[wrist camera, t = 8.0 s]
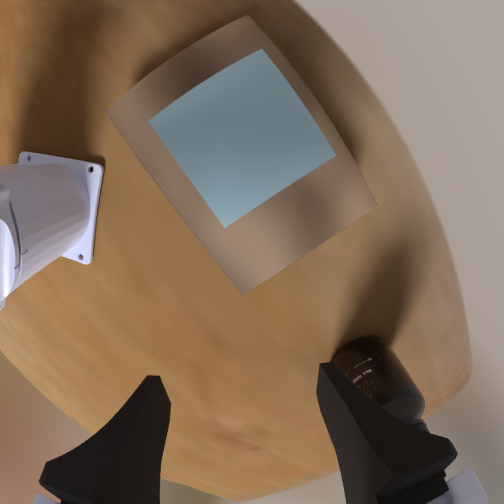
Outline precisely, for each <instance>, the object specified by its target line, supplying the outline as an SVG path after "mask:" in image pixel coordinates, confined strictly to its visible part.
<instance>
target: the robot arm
mask: <svg viewBox="0 0 504 504" xmlns="http://www.w3.org/2000/svg"><path fill="white" fill-rule="evenodd" d="M30 156H31V160H30ZM91 167H93V172H91V171H90V168H91ZM103 172H104V168H103V166H102V165H101V164H97V163H92V162H87V161H81V160H76V159H70V158H64V157H58V156H52V155H46V154H40V153H33V152H26V151H24V152H21V153H20V155H19V160H18V163H17V164H10V165H4V166H0V310H1V309H2V308H4V307H5V299H6V297H7V296H8V295H9V294H10V293H11V292H12V291H13V290H14V289H16V288H17V287H18V286H20V285H21V284H22V283H23V282H25V281H26V280H27V279H29V278H30V277H31V276H33V275H34V274H35V273H37V272H38V271H39V270H41V269H42V268H44V267H45V266H46V265H48V264H49V263H51V262H52V261H54V260H55V259H56V258H58V257H59V256H63V257H66V258H69V259H72V260H75V261H78V262H81V263H84V264H89V263H91V262H92V259H93V245H94V234H95V225H96V216H97V209H98V202H99V195H100V189H101V183H102V178H103ZM80 254H81V255H82V256H83V258H81V256H80ZM316 394H317V398H318V402H319V407H320V411H321V414H322V416H323V419H324V422H325V424H326V427H327V430H328V432H329V435H330V438H331V440H332V443H333V445H334V448H335V451H336V455H337V459H338V463H339V467H340V471H341V476H342V481H343V486H344V492H345V498H346V503H347V504H487V503H488V502H489V500H488V498H487V496H486V494H485V492H484V490H483V488H482V486H481V484H480V483H479V481H478V479H477V477H476V475H475V474H474V472H473V470H472V468H471V467H468V468H467V469H466V470H464V471H462V472H461V473H459V474H457V475H456V476H454V477H453V478H451V479H450V480H448V481H447V482H445V480H444V478H445V477H446V473H445V471H444V470H445V469H446V468H447V467H448V466H449V465H450V463H452V462H453V461H454V459H455V458H456V456H457V454H458V453H457V451H456V449H455V448H454V446H453V444H452V443H451V441H450V440H449V439H448V438H444V437H441V436H438V435H434V434H431V433H428V432H426V431H423V430H421V429H418V428H416V427H414V426H412V425H410V424H408V423H406V422H404V421H402V420H400V419H399V418H397V417H395V416H394V415H392V414H391V413H389V412H388V411H386V410H385V409H383V408H382V407H380V406H379V405H378V404H377V403H375V402H374V401H373V400H372V399H370V398H369V397H368V396H367V395H366V394H365V393H363V392H362V391H361V390H360V389H359V388H358V387H357V386H356V385H355V384H354V383H353V382H352V381H351V380H350V379H349V378H348V377H347V376H346V375H345V374H344V373H343V372H342V371H341V370H340V368H339V367H338V366H337V365H336V364H335V363H334V362H333V361H332V362H327V363H321V364H320V365H319V374H318V383H317V391H316ZM170 411H171V402H170V400H169V398H168V395H167V393H166V390H165V388H164V386H163V383H162V381H161V378H160V376H151V375H147V376H146V378H145V379H144V380H143V381H142V383H141V384H140V385H139V387H138V388H137V389H136V390H135V392H134V393H133V394H132V396H131V397H130V398H129V399H128V400H127V402H126V403H125V404H124V405H123V406H122V408H121V409H120V410H119V411H118V412H117V413H116V414H115V415H114V416H113V418H112V419H111V420H110V421H109V422H108V423H107V424H106V425H105V426H104V427H102V428H101V429H100V430H99V431H98V432H97V433H96V434H94V435H93V436H92V437H90V438H89V439H88V440H86V441H85V442H84V443H82V444H81V445H79V446H78V447H76V448H74V449H73V450H71V451H69V452H67V453H66V454H64V455H62V456H59V457H57V458H55V459H53V460H50V461H48V462H46V464H45V467H44V469H43V472H42V474H41V477H40V479H39V483H40V485H41V486H43V487H44V488H45V489H46V490H48V491H49V492H50V493H52V494H53V495H55V496H56V497H57V498H59V499H60V500H61V503H60V504H160V471H161V461H162V456H163V451H164V446H165V441H166V437H167V432H168V427H169V422H170ZM33 504H59V503H57V502H55V501H53V500H51V499H49V498H47V497H45V496H43V495H41V494H39V493H37V494H36V497H35V500H34V503H33Z"/></svg>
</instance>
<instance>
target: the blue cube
mask: <svg viewBox="0 0 504 504" xmlns="http://www.w3.org/2000/svg"><path fill="white" fill-rule="evenodd" d="M148 122H149V124H150V125H151V127H152V128H153V129H154V131H155V132H156V134H157V135H158V136H159V138H160V139H161V141H162V142H163V143H164V145H165V146H166V148H167V149H168V150H169V152H170V153H171V155H172V156H173V157H174V159H175V160H176V162H177V163H178V164H179V166H180V167H181V168H182V170H183V171H184V173H185V174H186V175H187V177H188V178H189V180H190V181H191V182H192V184H193V185H194V187H195V188H196V189H197V191H198V192H199V193H200V195H201V196H202V198H203V199H204V200H205V202H206V203H207V204H208V206H209V207H210V209H211V210H212V211H213V213H214V214H215V215H216V217H217V218H218V220H219V221H220V222H221V224H222V225H223V226H224V228H226V227H227V226H229V225H230V224H232V223H233V222H235V221H236V220H238V219H239V218H241V217H242V216H244V215H245V214H247V213H248V212H250V211H251V210H253V209H254V208H256V207H257V206H259V205H260V204H262V203H263V202H265V201H266V200H268V199H269V198H271V197H272V196H274V195H275V194H277V193H278V192H280V191H281V190H283V189H284V188H286V187H288V186H289V185H291V184H292V183H294V182H295V181H297V180H298V179H300V178H302V177H303V176H305V175H306V174H308V173H309V172H311V171H313V170H314V169H316V168H317V167H319V166H321V165H322V164H324V163H325V162H327V161H329V160H330V159H332V158H333V157H335V156H336V155H335V153H334V151H333V149H332V148H331V146H330V144H329V143H328V141H327V139H326V138H325V136H324V135H323V133H322V131H321V130H320V128H319V127H318V125H317V124H316V122H315V120H314V119H313V117H312V116H311V114H310V113H309V111H308V110H307V108H306V107H305V105H304V104H303V102H302V101H301V100H300V98H299V97H298V95H297V94H296V92H295V91H294V90H293V88H292V87H291V85H290V84H289V83H288V81H287V80H286V79H285V77H284V76H283V75H282V73H281V72H280V71H279V69H278V68H277V67H276V66H275V64H274V63H273V62H272V60H271V59H270V58H269V57H268V55H267V54H266V53H265V52H264V51H263V49H260V50H258V51H256V52H254V53H252V54H250V55H248V56H246V57H245V58H243V59H241V60H239V61H237V62H235V63H234V64H232V65H230V66H228V67H227V68H225V69H223V70H221V71H220V72H218V73H216V74H215V75H213V76H212V77H210V78H208V79H207V80H205V81H204V82H202V83H201V84H199V85H197V86H196V87H194V88H193V89H191V90H190V91H188V92H187V93H186V94H184V95H183V96H181V97H180V98H178V99H177V100H176V101H174V102H173V103H171V104H170V105H169V106H167V107H166V108H165V109H163V110H162V111H161V112H159V113H158V114H157V115H155V116H154V117H153V118H152V119H150V120H149V121H148Z"/></svg>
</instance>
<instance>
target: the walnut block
mask: <svg viewBox="0 0 504 504" xmlns="http://www.w3.org/2000/svg"><path fill="white" fill-rule="evenodd" d="M260 49H263V51H264V52H265V53H266V54H267V55H268V57H269V58H270V59H271V60H272V62H273V63H274V64H275V66H276V67H277V68H278V69H279V71H280V72H281V73H282V75H283V76H284V77H285V79H286V80H287V81H288V83H289V84H290V85H291V87H292V88H293V90H294V91H295V92H296V94H297V95H298V97H299V98H300V100H301V101H302V102H303V104H304V105H305V107H306V108H307V110H308V111H309V113H310V114H311V116H312V117H313V119H314V120H315V122H316V124H317V125H318V127H319V128H320V130H321V131H322V133H323V135H324V136H325V138H326V139H327V141H328V143H329V144H330V146H331V148H332V149H333V151H334V153H335V155H336V156H335V157H333V158H332V159H330V160H329V161H327V162H325V163H324V164H322V165H321V166H319V167H317V168H316V169H314V170H313V171H311V172H309V173H308V174H306V175H305V176H303V177H302V178H300V179H298V180H297V181H295V182H294V183H292V184H291V185H289V186H288V187H286V188H284V189H283V190H281V191H280V192H278V193H277V194H275V195H274V196H272V197H271V198H269V199H268V200H266V201H265V202H263V203H262V204H260V205H259V206H257V207H256V208H254V209H253V210H251V211H250V212H248V213H247V214H245V215H244V216H242V217H241V218H239V219H238V220H236V221H235V222H233V223H232V224H230V225H229V226H227V227H226V228H224V226H223V225H222V224H221V222H220V221H219V220H218V218H217V217H216V215H215V214H214V213H213V211H212V210H211V209H210V207H209V206H208V204H207V203H206V202H205V200H204V199H203V198H202V196H201V195H200V193H199V192H198V191H197V189H196V188H195V187H194V185H193V184H192V182H191V181H190V180H189V178H188V177H187V175H186V174H185V173H184V171H183V170H182V168H181V167H180V166H179V164H178V163H177V162H176V160H175V159H174V157H173V156H172V155H171V153H170V152H169V150H168V149H167V148H166V146H165V145H164V143H163V142H162V141H161V139H160V138H159V136H158V135H157V134H156V132H155V131H154V129H153V128H152V127H151V125H150V124H149V122H148V121H149V120H150V119H152V118H153V117H154V116H155V115H157V114H158V113H159V112H161V111H162V110H163V109H165V108H166V107H167V106H169V105H170V104H171V103H173V102H174V101H176V100H177V99H178V98H180V97H181V96H183V95H184V94H186V93H187V92H188V91H190V90H191V89H193V88H194V87H196V86H197V85H199V84H201V83H202V82H204V81H205V80H207V79H208V78H210V77H212V76H213V75H215V74H216V73H218V72H220V71H221V70H223V69H225V68H227V67H228V66H230V65H232V64H234V63H235V62H237V61H239V60H241V59H243V58H245V57H246V56H248V55H250V54H252V53H254V52H256V51H258V50H260ZM105 112H106V114H107V115H108V117H109V118H110V120H111V121H112V123H113V124H114V126H115V127H116V128H117V130H118V131H119V133H120V134H121V136H122V137H123V138H124V140H125V141H126V143H127V144H128V146H129V147H130V148H131V150H132V151H133V153H134V154H135V155H136V157H137V158H138V160H139V161H140V162H141V164H142V165H143V167H144V168H145V169H146V171H147V172H148V173H149V175H150V176H151V177H152V179H153V180H154V182H155V183H156V184H157V186H158V187H159V188H160V190H161V191H162V192H163V194H164V195H165V196H166V198H167V199H168V200H169V202H170V203H171V204H172V206H173V207H174V208H175V210H176V211H177V212H178V214H179V215H180V216H181V218H182V219H183V220H184V222H185V223H186V224H187V226H188V227H189V228H190V229H191V231H192V232H193V233H194V235H195V236H196V237H197V239H198V240H199V241H200V242H201V244H202V245H203V246H204V248H205V249H206V250H207V251H208V253H209V254H210V255H211V256H212V258H213V259H214V260H215V262H216V263H217V264H218V265H219V267H220V268H221V269H222V270H223V272H224V273H225V274H226V275H227V277H228V278H229V279H230V280H231V282H232V283H233V284H234V285H235V287H236V288H237V289H238V290H239V291H240V293H241V294H242V295H243V294H245V293H247V292H248V291H250V290H251V289H253V288H254V287H256V286H258V285H259V284H261V283H262V282H264V281H265V280H267V279H268V278H270V277H272V276H273V275H275V274H276V273H278V272H279V271H281V270H282V269H284V268H285V267H287V266H288V265H290V264H292V263H293V262H295V261H296V260H298V259H299V258H301V257H302V256H304V255H305V254H307V253H308V252H310V251H311V250H313V249H314V248H316V247H317V246H319V245H320V244H322V243H323V242H325V241H326V240H328V239H329V238H330V237H332V236H333V235H335V234H336V233H338V232H339V231H341V230H342V229H344V228H345V227H347V226H348V225H349V224H351V223H352V222H354V221H355V220H357V219H358V218H360V217H361V216H362V215H364V214H365V213H367V212H368V211H370V210H371V209H372V208H374V207H375V206H377V203H376V201H375V199H374V197H373V195H372V193H371V191H370V189H369V187H368V185H367V183H366V181H365V179H364V177H363V175H362V173H361V172H360V170H359V168H358V166H357V164H356V162H355V161H354V159H353V157H352V155H351V154H350V152H349V150H348V148H347V147H346V145H345V143H344V142H343V140H342V138H341V137H340V135H339V133H338V132H337V130H336V128H335V127H334V125H333V124H332V122H331V120H330V119H329V117H328V116H327V114H326V113H325V111H324V110H323V108H322V107H321V105H320V104H319V102H318V101H317V99H316V98H315V97H314V95H313V94H312V92H311V91H310V89H309V88H308V87H307V85H306V84H305V83H304V81H303V80H302V78H301V77H300V76H299V74H298V73H297V72H296V70H295V69H294V68H293V67H292V65H291V64H290V63H289V61H288V60H287V59H286V58H285V56H284V55H283V54H282V53H281V52H280V50H279V49H278V48H277V47H276V46H275V44H274V43H273V42H272V41H271V40H270V39H269V37H268V36H267V35H266V34H265V33H264V32H263V31H262V30H261V28H260V27H259V26H258V25H257V24H256V23H255V22H254V21H253V20H252V19H251V18H250V17H249V16H248V15H246V16H244V17H242V18H239V19H237V20H235V21H233V22H231V23H229V24H227V25H225V26H223V27H222V28H220V29H218V30H216V31H214V32H212V33H211V34H209V35H207V36H205V37H204V38H202V39H200V40H198V41H197V42H195V43H193V44H192V45H190V46H189V47H187V48H185V49H184V50H182V51H181V52H179V53H178V54H176V55H175V56H173V57H172V58H170V59H169V60H167V61H166V62H164V63H163V64H162V65H160V66H159V67H157V68H156V69H155V70H153V71H152V72H151V73H149V74H148V75H147V76H145V77H144V78H143V79H142V80H140V81H139V82H138V83H137V84H135V85H134V86H133V87H132V88H130V89H129V90H128V91H127V92H126V93H124V94H123V95H122V96H121V97H120V98H119V99H118V100H116V101H115V102H114V103H113V104H112V105H111V106H110V107H109V108H108V109H107V110H105Z"/></svg>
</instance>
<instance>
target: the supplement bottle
mask: <svg viewBox="0 0 504 504" xmlns="http://www.w3.org/2000/svg"><path fill="white" fill-rule="evenodd" d="M333 362H334V363H335V364H336V365H337V366H338V367H339V368H340V370H341V371H342V372H343V373H344V374H345V375H346V376H347V377H348V378H349V379H350V380H351V381H352V382H353V383H354V384H355V385H356V386H357V387H358V388H359V389H360V390H361V391H362V392H363V393H365V394H366V395H367V396H368V397H369V398H370V399H372V400H373V401H374V402H375V403H377V404H378V405H379V406H380V407H382V408H383V409H385V410H386V411H388V412H389V413H391V414H392V415H394V416H395V417H397V418H399V419H400V420H402V421H404V422H406V423H408V424H410V425H412V426H414V427H416V428H418V429H421V430H423V431H426V432H428V433H429V431H428V429H427V427H426V423H425V421H424V420H422V419H421V417H422V415H423V412H424V409H425V400H424V398H423V396H422V394H421V392H420V391H419V389H418V387H417V386H416V384H415V383H414V381H413V380H412V378H411V377H410V375H409V374H408V372H407V371H406V369H405V367H404V366H403V364H402V363H401V362H400V360H399V359H398V357H397V356H396V354H395V353H394V351H393V350H392V348H391V347H390V346H389V344H388V343H387V342H386V341H385V340H383V339H381V338H377V337H366V338H361V339H358V340H356V341H354V342H352V343H350V344H348V345H347V346H345V347H344V348H343V349H342V350H341V351H340V352H339V353H338V354H337V355H336V356H335V358H334V359H333Z"/></svg>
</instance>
